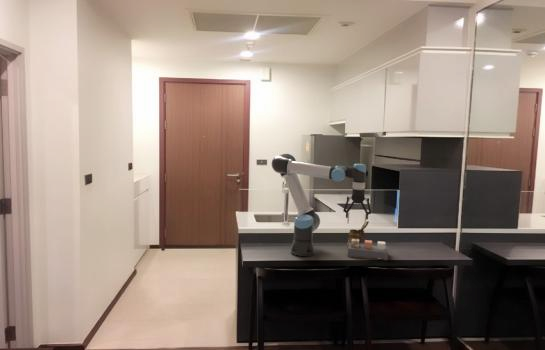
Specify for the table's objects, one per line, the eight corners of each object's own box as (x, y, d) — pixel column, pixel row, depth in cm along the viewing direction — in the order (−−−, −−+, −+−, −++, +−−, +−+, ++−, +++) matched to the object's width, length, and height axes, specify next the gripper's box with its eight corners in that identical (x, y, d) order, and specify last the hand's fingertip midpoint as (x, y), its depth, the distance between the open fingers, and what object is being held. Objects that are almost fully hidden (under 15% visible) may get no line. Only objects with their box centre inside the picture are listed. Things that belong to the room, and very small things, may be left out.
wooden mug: (368, 249, 265) (370, 222, 262) (347, 248, 265) (349, 222, 263) (365, 245, 274) (367, 219, 271) (345, 244, 274) (347, 218, 272)
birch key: (351, 248, 253) (351, 240, 252) (351, 246, 257) (351, 238, 257) (358, 248, 252) (358, 241, 251) (358, 246, 256) (359, 239, 256)
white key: (377, 250, 249) (377, 243, 249) (377, 248, 254) (377, 241, 253) (384, 251, 248) (385, 244, 248) (384, 249, 253) (385, 241, 252)
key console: (347, 256, 250) (348, 248, 250) (348, 250, 262) (349, 242, 261) (387, 260, 245) (388, 252, 244) (386, 254, 257) (387, 246, 256)
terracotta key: (364, 249, 251) (364, 242, 251) (364, 247, 256) (364, 239, 255) (371, 250, 250) (372, 242, 250) (371, 248, 255) (372, 240, 254)
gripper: (340, 188, 249) (338, 223, 252) (377, 191, 243) (374, 226, 247) (340, 186, 256) (338, 220, 259) (377, 189, 251) (374, 223, 254)
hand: (356, 223), depth 253 cm, fingers open, 10 cm apart
